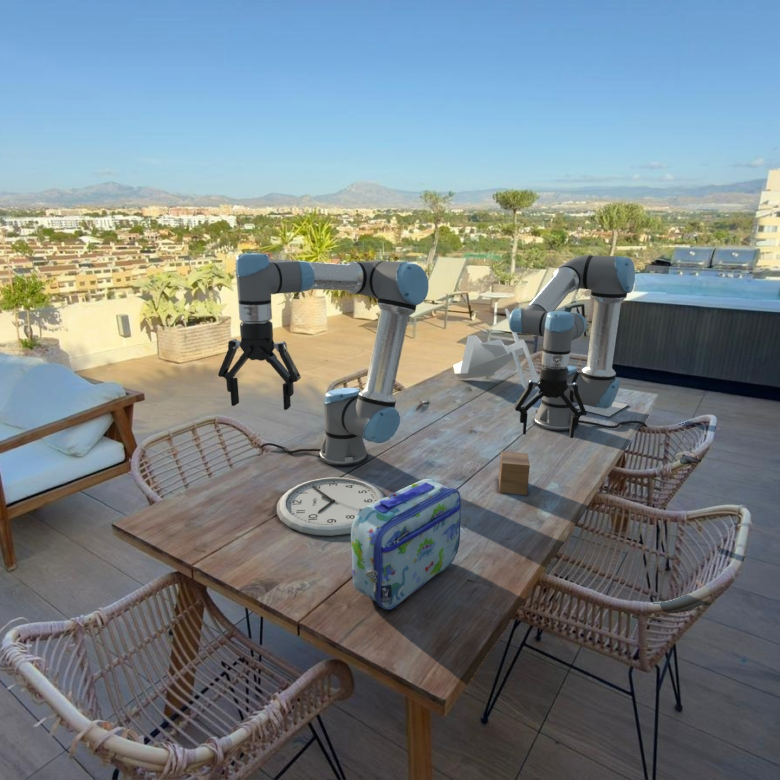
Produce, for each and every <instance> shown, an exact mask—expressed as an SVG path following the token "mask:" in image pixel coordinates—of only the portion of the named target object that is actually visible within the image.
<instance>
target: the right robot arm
mask: <svg viewBox="0 0 780 780" xmlns="http://www.w3.org/2000/svg"><path fill="white" fill-rule="evenodd" d="M635 281H636V267H635V264H634V261H633V259H631V257H627V256H619V255H593V254H586V255H585V254H584V255H579V256H576V257H574V258H571V259H569V260H567V261H566V262H563V263H562V264H560V266H558V267H557V268H556V269H555V270H554V271H553V273H552V275H551V278H550V281H549V282H547V284H545V286H544V287H543V288H542V289H541V291H540V292H539V293H538V294H537V295H536V296H535V297H534V298H533V299H532V300H531V302H530V303H529V304H528V305H527V306H526V307H524V308H515V309H513V310H512V311H511V312H510V314H511V315H510V318H509V322H508V328H509V330H510V331H511V333H512V332H516V333H517V334H521V335H527V336H528V335H529V336H537V337H543V344H542V345H543V346H542V353H541V361H540V362H541V366H540V373H539V379H538V380H539V382H534V380H533V379H529V380H528V382H527V388H526V389H524V391H523V392H522V394H521V396H519V399H518V400H517V402H516V403H515V405H514V410H515V412H519V413H520V414H519V423H520V424H522V435H527V427H528V426H527V423H528V416H529V415H528V411H529V410H530V409H531V408H532V407H534V405H535V404H537V403H538V401H540V400H541V402H540V405H539V407H538V409H536V410H535V416H534V424H535V425H536V426H537V427H539V428H542V429H544V430H549V431H556V432H567V431H569V432H568V436H569V438H570V439H574V434H575V428H577V427H579V425H580V424H586V425H592V426H597V427H601V428H604V429H605V428H606V429H616V428H619V427H620V426H621V425H627V424H639V425H642V426H643V427H644V428H648V427H649V426H648V425H647V424H646V423H645V422H643V421H640V420H628V421H620V422H618V423H617V424H616V425H608V424H603V423H599V422H593V421H587V420H580V418H581V416H582V417H583V416H586V415H588V412H587V411H586V410H585V408H584V405H587V406H592V407H595V408H604V409H607V408H609V407H610V406H611V405H612V404H613V402H615V400H616V397H617V395H618V391H619V389H620V385H621V383H620V382H621V380H620V379H619V378H617V377H616V376H617V375H616V374H617V372H616V371H615V369H613V363H614V356H615V350H616V349H615V348H616V342H617V334H618V327H619V320H620V313H621V305H622V302H623V301H624V300H625V299H627V297H628V294H631V293H632V292H633V291H634V287H635ZM577 289H578V290H589V291H590V297H591V298H592V299H593V301H594V304H593V310H592V311H593V312H592V319H591V328H590V335H589V344H588V351H587V352H588V353H587V361H586V366H584V367H583V368H581V372H579V371H578V368H577V366H573V365H570V357H571V348H572V342H573V341H574V340H577V339H579V338H581V336H582V335H584V333H586V330H587V329H588V323H587V319H586V318H585V316H584V315H582V314H581V313H579V312H570V311H566V310H565V311H563V310H557V309H558V307H559V306H560V304H562V302H563V301H564V300H565V299H566V297H567V296H568V295H569V294H571V293H573V292H575V291H576V290H577ZM536 386H538V388H539V389H538V388H537V387H536ZM535 388H537V389H538V391H536V393H535V394H534V395H533V396H532V397H530V399H529V400H527V399H528V397H529V395H530V394H531V393H532V390H534V389H535ZM526 400H527V401H526ZM575 404H577V406H578V405H579V408H580V409H576V408H575V407H576V405H575Z"/></svg>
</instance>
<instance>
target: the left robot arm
mask: <svg viewBox="0 0 780 780" xmlns="http://www.w3.org/2000/svg"><path fill="white" fill-rule="evenodd" d="M235 277H236V288H237V302H238V303H237V304H238V318H239V320H240V321H241V322H240V323H239V333H240V340H237V339H236V338H234V339H231V340H229V341H228V343H227V351H226V354H225V356H224V359H223V361H222V363H221V365H220V368H219V370H218V373H217V376H218V377H219V378H223V379H224V380H225V382H226V391H227V392H228V393H230V404H231V407H235V406H237V405H238V404H240V397H239V382H238V377H236V375H237V373H238V372H239V371H240V370H241V369H242V367H243V365H244V364H245V363H246V362H247V361H248V360H250V361H256V360H257V361H261V362H262V361H263V362H264V361H265V362H267V363H268V364H270V366H271V367H272V368H273V369H274V370H275V372H276V373H277V374H278V375H279V376H280V378H281V379H282V380H283V381H284V383H282V396H283V397H282V399H283V401H282V402H283V410H284V411H287V410H289V408H291V406H292V405H291V403H292V402H291V397H292V396H293V395H294V383H297V382H298V381H299V380H300V379H302V376H301V374H300V372H299V369H298V368H297V366H296V365H295V362H294V360H293V358H292V357H291V354H290V352H289V351H288V346H287V342H286V341H283V340H282V341H281V342H274V328H273V326H274V325H273V322H272V319H273V310H272V309H273V308H272V295H278V294H279V295H280V294H292V293H298V294H301V293H303V292H309V291H310V290H317V291H318V290H322V291H345V292H346V293H348V294H350V295H360V296H364V297H369V298H373V299H377V302H376V303H377V304H376V305H377V307H378V308H379V310H380V313H379V318H378V322H377V327H376V332H375V336H374V342H373V347H372V352H371V356H370V361H369V366H368V371H367V376H366V380H365V385H364V388H363V389H362V390H361V389H359V388H357V387H341V388H335V389H331V390H329V391H327V392H326V393H325V395H324V403H323V405H324V429H325V430H324V431H325V435H324V438H323V441H322V444H321V448H299V449H293V450H289V449H288V448H287V447H285V446H282V445H279V444H276V443H272V442H266V443H263V444H261V445H260V446H259V448H260V449H263V448H264V447H266V446H272V447H276V448H278V449H281V450H284V451H285V452H286V453H287V454H295V453H298V452H299V453H300V452H319V459H320V460H321V461H322V462H323V463H325V464H327V465H329V466H330V465H331V466H334V467H335V466H336V467H351V466H355V465H358V464H361V463H362V462H365V460H366V459H367V456H368V455H367V453H368V451H367V448H366V445H365V442H364V440H365V441H367V442H371V443H374V444H383V443H386V442H388V441H390V440H391V438H392V437H394V436H395V435H396V433H397V431H398V429H399V427H400V423H401V416H400V413H399V410H397V408H396V403H397V400H396V398H395V397H394V394H393V393H394V388H395V384H396V381H397V380H396V379H397V376H398V375H397V373H398V370H399V365H400V360H401V356H402V352H403V348H404V347H403V346H404V341H405V337H406V332H407V328H408V323H409V318H410V316H412V315H413V314H415V313H416V309H417V307H418V305H421V304H422V303H423V302H424V301H425V300H426V299H427V297H428V293H429V286H430V285H429V279H428V275H426V271H425V269H423V267H422V266H421V265H419V264H417V263H414V262H413V263H412V262H407V261H395V260H369V261H368V260H367V261H349V262H347V263H346V264H345V263H332V262H331V263H330V262H317V261H306V260H287V259H273V258H270V257H269V254H267V253H239V254H238V255H236V257H235ZM239 348H240V349H241V350H242V352H243V353H242V354H241V355H240V356H239V357H238V359H237V360H236V362H235V364H234V365H233V366H232V367H231V365H232V362H233V361H234V358H235V356H236V353H237V350H238V349H239ZM274 350H276V352H277V353H278V354H279V356H280V359H281V360H282V362H283V364H284V365H283V364H282V362H281V360H279V358H278V356H277V354H275V352H274ZM230 368H231V369H230ZM229 369H230V370H229Z"/></svg>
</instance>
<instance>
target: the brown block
mask: <svg viewBox="0 0 780 780" xmlns="http://www.w3.org/2000/svg"><path fill="white" fill-rule="evenodd" d="M530 468H531V465H530V459H529V454H528V453H526V452H514V451H503V450H502V451H500V461H499V472H498V491H499V493H501V494H511V495H520V496H521V495H523V496H527V495H528V488H529V487H528V485H529V477H530Z"/></svg>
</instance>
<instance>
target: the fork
mask: <svg viewBox="0 0 780 780" xmlns="http://www.w3.org/2000/svg"><path fill="white" fill-rule="evenodd" d="M429 399H430V397H429V395H424V396H423V398H422V400H421V403H420V404H418V406H417V407H416V409H415V410H419V409H420V408H421V407H422V406H423V405H424V404H425V403H428V402H429Z"/></svg>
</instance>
